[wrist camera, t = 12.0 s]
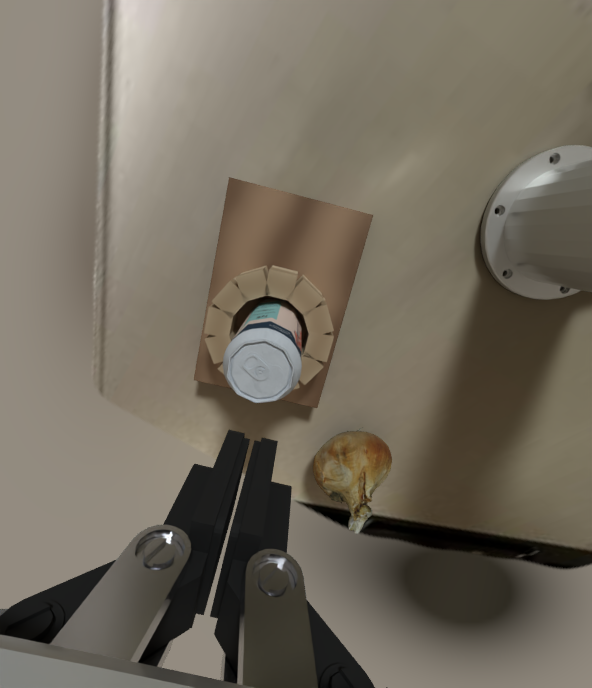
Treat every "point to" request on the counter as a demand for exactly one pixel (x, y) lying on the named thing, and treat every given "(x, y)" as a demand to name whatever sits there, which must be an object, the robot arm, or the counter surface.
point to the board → (287, 247)
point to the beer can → (265, 353)
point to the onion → (353, 471)
